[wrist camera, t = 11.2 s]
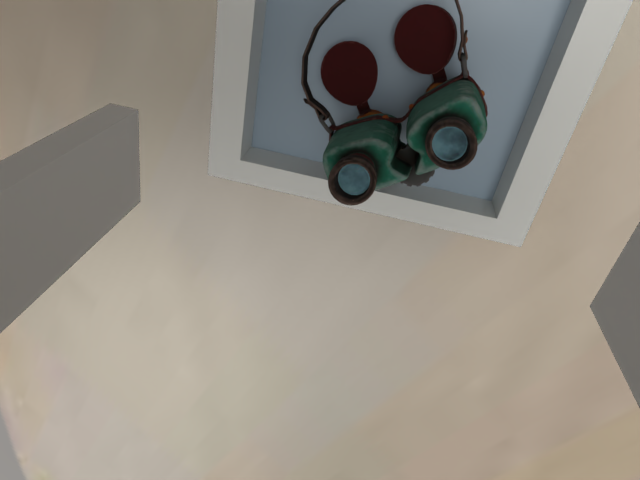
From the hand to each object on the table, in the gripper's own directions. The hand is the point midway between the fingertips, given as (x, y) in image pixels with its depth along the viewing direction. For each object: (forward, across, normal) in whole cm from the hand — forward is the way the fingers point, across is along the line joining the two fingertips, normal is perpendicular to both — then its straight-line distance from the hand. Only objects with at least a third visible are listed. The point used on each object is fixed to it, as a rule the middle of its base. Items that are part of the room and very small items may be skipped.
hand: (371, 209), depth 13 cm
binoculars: (+19, 0, 0) cm, 19 cm away
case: (+19, 0, 0) cm, 19 cm away
